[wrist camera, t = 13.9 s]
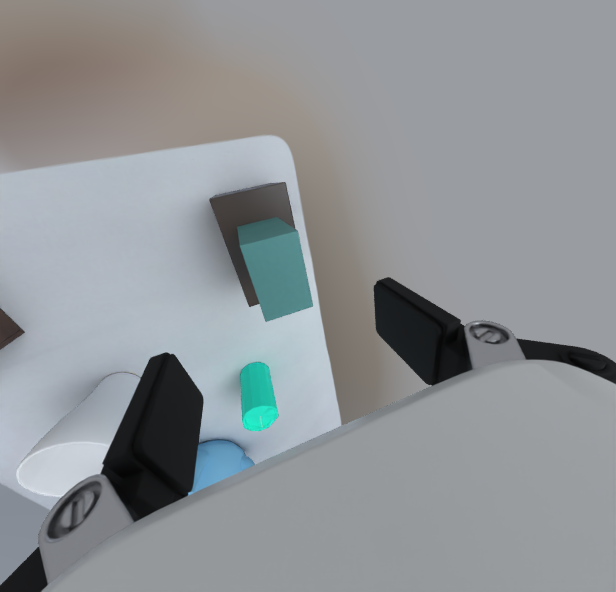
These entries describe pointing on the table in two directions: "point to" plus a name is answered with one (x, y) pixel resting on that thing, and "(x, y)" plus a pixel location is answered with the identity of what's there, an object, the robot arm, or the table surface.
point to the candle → (257, 397)
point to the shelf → (8, 330)
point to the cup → (78, 439)
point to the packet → (275, 267)
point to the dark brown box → (249, 221)
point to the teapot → (218, 463)
